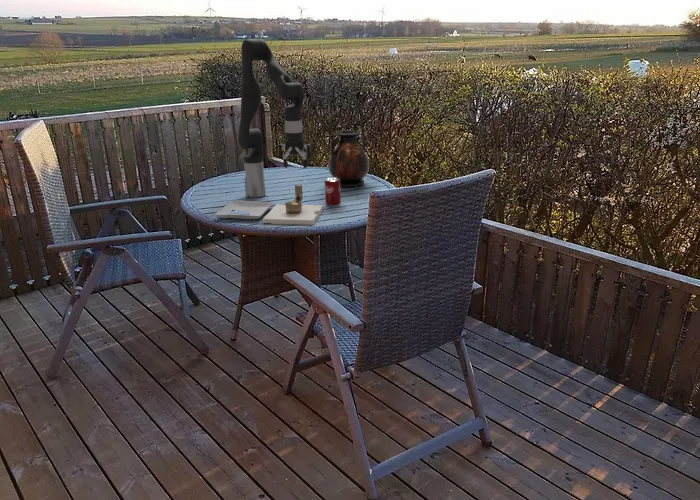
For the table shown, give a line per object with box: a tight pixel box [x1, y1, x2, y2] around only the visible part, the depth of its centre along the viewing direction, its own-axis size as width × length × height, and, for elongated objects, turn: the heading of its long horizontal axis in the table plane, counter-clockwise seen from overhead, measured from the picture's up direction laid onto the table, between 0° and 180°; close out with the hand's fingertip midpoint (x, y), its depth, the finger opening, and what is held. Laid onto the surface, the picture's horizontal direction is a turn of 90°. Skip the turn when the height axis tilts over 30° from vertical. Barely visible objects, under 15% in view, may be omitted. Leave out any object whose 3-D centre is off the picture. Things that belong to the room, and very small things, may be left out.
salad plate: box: [214, 200, 275, 220], centre depth 246 cm, size 21×21×3 cm
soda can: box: [324, 177, 342, 207], centre depth 255 cm, size 7×7×12 cm
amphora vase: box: [327, 129, 370, 189], centre depth 286 cm, size 22×22×28 cm
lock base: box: [262, 203, 324, 226], centre depth 241 cm, size 22×22×2 cm
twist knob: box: [284, 184, 303, 214], centre depth 241 cm, size 13×7×10 cm, turn 167°
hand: (295, 167), depth 241 cm, fingers open, 8 cm apart
